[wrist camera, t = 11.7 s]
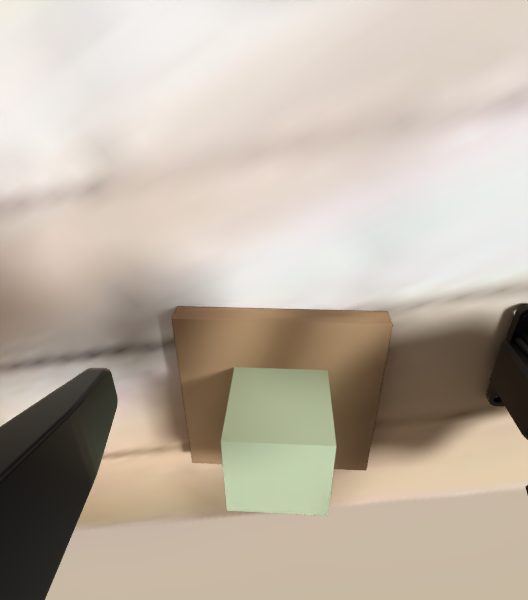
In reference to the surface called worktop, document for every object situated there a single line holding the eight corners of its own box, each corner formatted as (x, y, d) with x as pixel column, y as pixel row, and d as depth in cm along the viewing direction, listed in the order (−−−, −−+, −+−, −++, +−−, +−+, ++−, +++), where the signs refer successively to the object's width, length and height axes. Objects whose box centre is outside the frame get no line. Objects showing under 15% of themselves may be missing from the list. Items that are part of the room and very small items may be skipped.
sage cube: (327, 370, 22) (336, 446, 18) (321, 435, 25) (327, 515, 21) (234, 367, 22) (220, 441, 18) (237, 431, 25) (226, 510, 21)
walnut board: (387, 311, 22) (392, 324, 21) (363, 454, 27) (366, 470, 26) (177, 306, 22) (171, 318, 21) (195, 447, 28) (192, 462, 27)
